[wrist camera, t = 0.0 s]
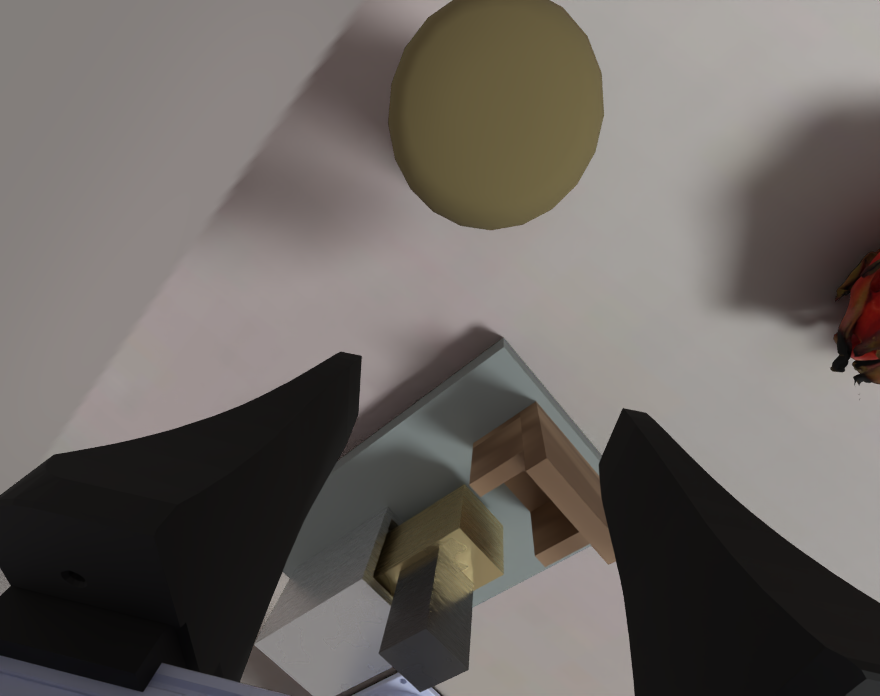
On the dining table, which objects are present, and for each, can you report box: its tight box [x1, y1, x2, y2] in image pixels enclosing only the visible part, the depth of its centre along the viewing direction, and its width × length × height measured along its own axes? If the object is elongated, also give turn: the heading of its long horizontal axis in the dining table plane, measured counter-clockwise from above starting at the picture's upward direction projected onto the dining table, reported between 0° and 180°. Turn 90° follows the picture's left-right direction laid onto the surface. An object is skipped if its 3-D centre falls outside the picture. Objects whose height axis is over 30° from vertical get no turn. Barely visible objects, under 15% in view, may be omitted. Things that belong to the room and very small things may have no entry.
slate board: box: [283, 337, 602, 608], centre depth 26 cm, size 20×12×2 cm, turn 131°
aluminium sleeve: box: [254, 507, 404, 696], centre depth 24 cm, size 8×5×5 cm, turn 131°
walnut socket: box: [469, 402, 616, 567], centre depth 20 cm, size 4×6×5 cm
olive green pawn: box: [388, 0, 604, 230], centre depth 14 cm, size 6×6×11 cm
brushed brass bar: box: [373, 484, 504, 692], centre depth 21 cm, size 12×3×7 cm, turn 131°
